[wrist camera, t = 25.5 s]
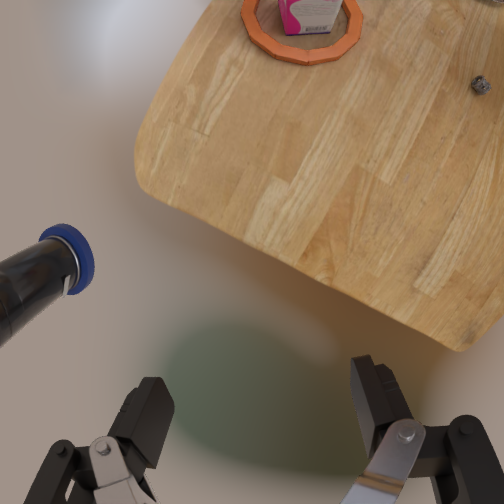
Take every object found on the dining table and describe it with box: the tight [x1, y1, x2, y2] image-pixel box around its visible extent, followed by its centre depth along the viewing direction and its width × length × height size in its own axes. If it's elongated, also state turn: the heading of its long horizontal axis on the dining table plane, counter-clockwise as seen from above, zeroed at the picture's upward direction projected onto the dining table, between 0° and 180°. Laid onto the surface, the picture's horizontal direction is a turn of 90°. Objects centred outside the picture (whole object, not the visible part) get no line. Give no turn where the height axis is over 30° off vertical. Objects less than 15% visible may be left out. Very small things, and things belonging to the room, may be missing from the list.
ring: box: [241, 0, 363, 66], centre depth 27 cm, size 15×15×2 cm
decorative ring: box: [472, 75, 491, 95], centre depth 26 cm, size 3×2×3 cm
